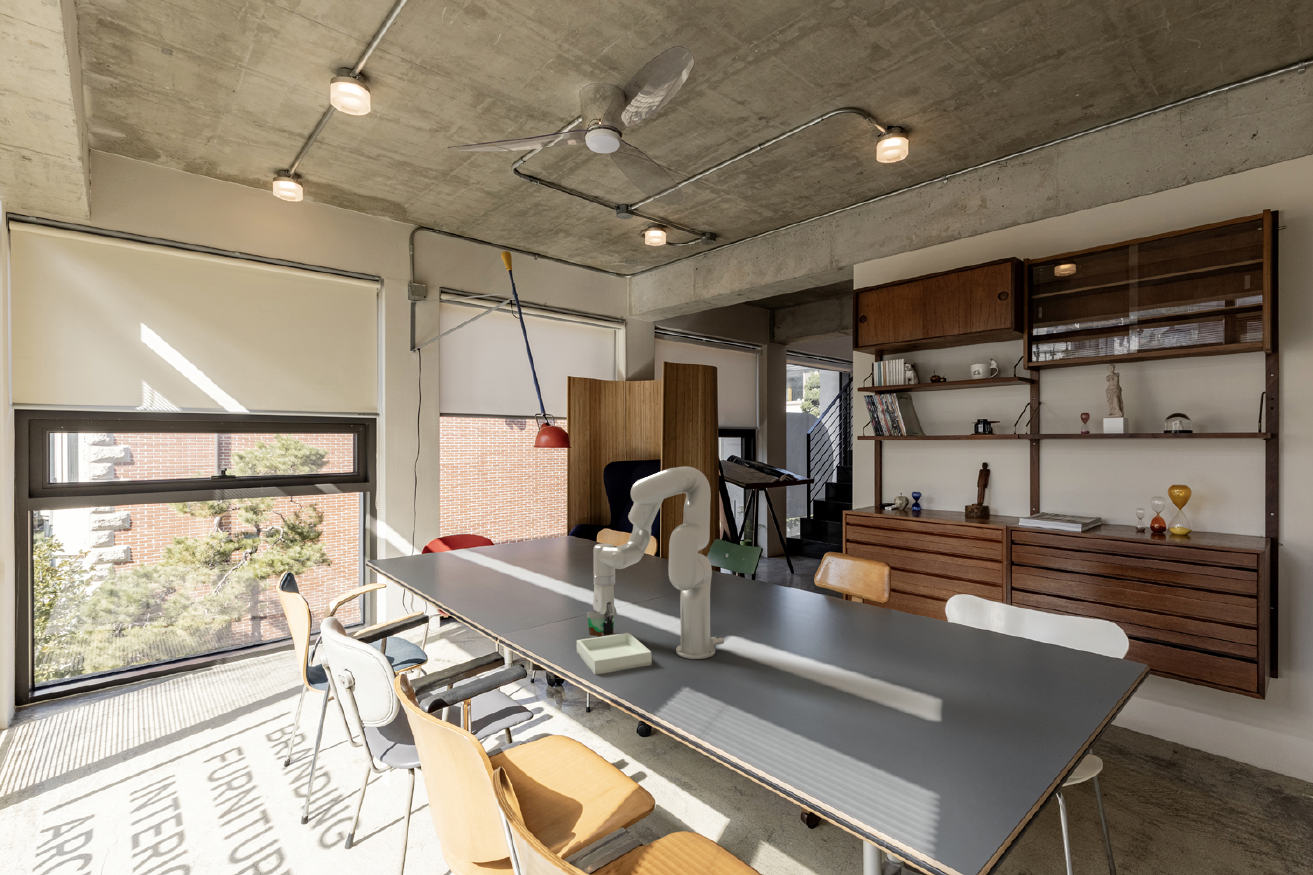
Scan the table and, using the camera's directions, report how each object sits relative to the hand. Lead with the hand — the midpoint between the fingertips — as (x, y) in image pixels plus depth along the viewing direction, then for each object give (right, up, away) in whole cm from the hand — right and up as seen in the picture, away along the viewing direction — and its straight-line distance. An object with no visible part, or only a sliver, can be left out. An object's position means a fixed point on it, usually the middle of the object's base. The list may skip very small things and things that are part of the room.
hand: (604, 629), depth 210 cm
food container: (0, -3, 0) cm, 3 cm away
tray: (+4, -3, -20) cm, 21 cm away
